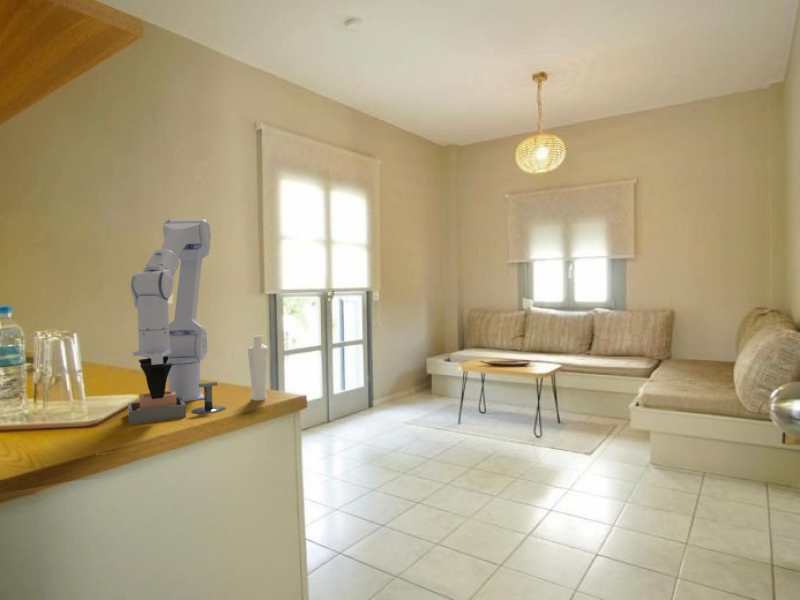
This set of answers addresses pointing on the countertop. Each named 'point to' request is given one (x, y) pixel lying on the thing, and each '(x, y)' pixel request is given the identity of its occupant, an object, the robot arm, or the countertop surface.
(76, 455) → the countertop surface
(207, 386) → the dark grey stand
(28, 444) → the countertop surface
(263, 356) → the perfume bottle
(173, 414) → the tray
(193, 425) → the countertop surface
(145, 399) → the pink block
